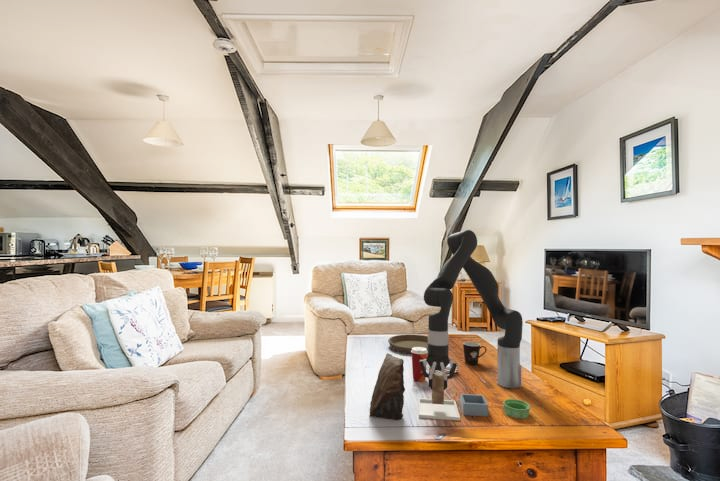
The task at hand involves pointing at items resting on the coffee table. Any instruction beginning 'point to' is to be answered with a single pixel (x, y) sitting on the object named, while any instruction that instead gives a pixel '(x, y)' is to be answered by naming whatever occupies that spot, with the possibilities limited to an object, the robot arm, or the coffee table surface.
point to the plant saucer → (408, 342)
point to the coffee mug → (472, 352)
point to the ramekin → (516, 408)
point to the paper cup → (418, 363)
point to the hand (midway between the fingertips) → (437, 388)
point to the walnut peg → (438, 388)
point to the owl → (389, 390)
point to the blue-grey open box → (473, 405)
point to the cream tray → (438, 410)
